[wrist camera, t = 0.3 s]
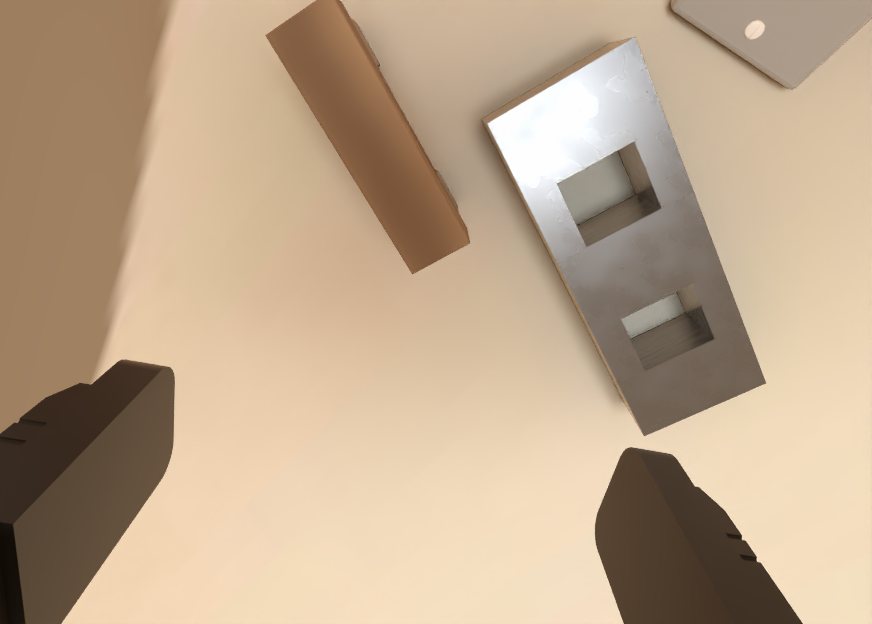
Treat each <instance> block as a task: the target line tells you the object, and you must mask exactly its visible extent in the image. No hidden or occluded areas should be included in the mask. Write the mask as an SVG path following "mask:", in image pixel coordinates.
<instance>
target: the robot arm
mask: <svg viewBox="0 0 872 624" xmlns="http://www.w3.org/2000/svg"><path fill="white" fill-rule="evenodd" d="M174 388H175V378H174V373H173V370H172V369H171V368H170V367H166V366H160V365H154V364H148V363H142V362H137V361H131V360H120V361H119V362H117V363H116V364H115V365H114V366H112V367H111V368H110V369H109V370H108V371H107V372H105V373H104V374H103V375H102V376H101V377H100V378H99V379H97V380H96V381H95V382H94V383H93V384H92V385H89V384H83V383H79V384H77V385H74V386H72V387H70V388H68V389H65V390H63V391H60V392H58V393H56V394H53V395H51V396H49V397H46V398H45V399H44V400H42V401H41V402H40V403H38V404H37V405H36V406H35V407H33V408H32V409H31V410H30V411H28V412H27V413H26V414H25V415H23V416H22V417H21V418H20V421H19V422H18V423H13V424H12V425H11V426H10V427H8V428H7V429H6V430H5V431H3V432H2V433H1V434H0V624H61V623H62V622H63V620H64V619H65V617H66V616H67V615H68V613H69V612H70V610H71V609H72V607H73V606H74V605H75V603H76V602H77V600H78V599H79V597H80V596H81V594H82V593H83V592H84V590H85V589H86V587H87V586H88V584H89V583H90V582H91V580H92V579H93V577H94V576H95V574H96V573H97V571H98V570H99V569H100V567H101V566H102V564H103V563H104V561H105V560H106V559H107V557H108V556H109V554H110V553H111V551H112V550H113V548H114V547H115V546H116V544H117V543H118V541H119V540H120V538H121V537H122V536H123V534H124V533H125V531H126V530H127V528H128V527H129V525H130V524H131V523H132V521H133V520H134V518H135V517H136V515H137V514H138V513H139V511H140V510H141V508H142V507H143V505H144V504H145V502H146V501H147V500H148V498H149V497H150V495H151V494H152V492H153V491H154V490H155V488H156V487H157V485H158V484H159V482H160V481H161V479H162V478H163V476H164V474H165V472H166V469H167V467H168V464H169V461H170V458H171V454H172V449H173V436H174ZM595 540H596V546H597V549H598V552H599V555H600V558H601V561H602V564H603V566H604V569H605V572H606V575H607V578H608V580H609V583H610V586H611V589H612V592H613V594H614V597H615V600H616V603H617V606H618V609H619V611H620V614H621V617H622V620H623V623H624V624H803V623H802V622H801V620H800V619H799V617H798V616H797V615H796V613H795V612H794V610H793V609H792V607H791V606H790V604H789V603H788V602H787V600H786V599H785V597H784V596H783V594H782V593H781V591H780V590H779V588H778V587H777V586H776V584H775V583H774V581H773V580H772V578H771V577H770V575H769V574H768V573H767V571H766V570H765V568H764V567H763V565H762V564H761V563H760V562H757V561H756V558H757V557H756V555H755V554H754V552H753V551H752V549H751V548H750V546H749V545H748V544H747V542H746V541H744V540H742V535H741V533H740V532H739V531H738V529H737V528H736V526H735V525H734V523H733V522H732V520H731V519H730V518H729V516H728V515H727V513H726V512H725V510H724V509H722V508H721V507H720V506H719V505H718V504H717V503H716V502H715V501H714V500H712V499H711V498H710V497H709V496H708V495H707V494H706V493H705V492H704V491H702V490H701V489H700V488H699V487H695V486H694V485H693V483H692V482H691V480H690V478H689V477H688V475H687V474H686V472H685V471H684V469H683V468H682V466H681V465H680V463H679V462H678V460H677V459H676V458H675V457H674V456H673V455H671V454H667V453H661V452H656V451H650V450H644V449H638V448H632V447H630V448H627V449H626V450H625V451H624V452H623V453H622V455H621V457H620V459H619V461H618V464H617V466H616V469H615V471H614V474H613V476H612V479H611V481H610V483H609V486H608V488H607V491H606V493H605V496H604V498H603V501H602V503H601V506H600V508H599V511H598V513H597V517H596V523H595Z"/></svg>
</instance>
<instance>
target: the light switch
mask: <svg viewBox="0 0 872 624" xmlns="http://www.w3.org/2000/svg"><path fill="white" fill-rule="evenodd" d="M671 8H672V10H673V11H674V12H675V13H677V14H678V15H680V16H681V17H682V18H684V19H685V20H687V21H688V22H690V23H691V24H693V25H694V26H696V27H697V28H699V29H700V30H702V31H703V32H705V33H706V34H708V35H709V36H710V37H712V38H713V39H715V40H716V41H718V42H719V43H721V44H722V45H724V46H725V47H727V48H728V49H730V50H731V51H733V52H734V53H736V54H737V55H738V56H740V57H741V58H743V59H744V60H746V61H747V62H749V63H750V64H752V65H753V66H755V67H756V68H758V69H759V70H761V71H762V72H763V73H765V74H766V75H768V76H769V77H771V78H772V79H774V80H775V81H777V82H778V83H780V84H781V85H783V86H784V87H786V88H787V89H791V90H793V89H794V88H796V87H797V86H798V85H799V84H800V83H801V82H803V81H804V80H805V79H806V78H807V77H808V76H809V75H810V74H811V73H812V72H814V71H815V70H816V69H817V68H818V67H819V66H820V65H821V64H822V63H823V62H824V61H826V60H827V59H828V58H829V57H830V56H831V55H832V54H833V53H834V52H835V51H836V50H838V49H839V48H840V47H841V46H842V45H843V44H844V43H845V42H846V41H847V40H848V39H850V38H851V37H852V36H853V35H854V34H855V33H856V32H857V31H858V30H859V29H861V28H862V27H863V26H864V25H865V24H866V23H867V22H868V21H869V20H870V19H871V18H872V0H671Z"/></svg>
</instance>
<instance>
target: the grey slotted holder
mask: <svg viewBox="0 0 872 624" xmlns="http://www.w3.org/2000/svg"><path fill="white" fill-rule="evenodd" d="M482 121H483V123H484V125H485V127H486V129H487V131H488V133H489V135H490V137H491V139H492V141H493V143H494V145H495V147H496V149H497V151H498V153H499V155H500V157H501V159H502V161H503V163H504V165H505V167H506V169H507V171H508V173H509V175H510V177H511V179H512V181H513V183H514V185H515V187H516V189H517V191H518V193H519V195H520V197H521V199H522V201H523V203H524V205H525V207H526V209H527V211H528V213H529V215H530V217H531V219H532V221H533V223H534V225H535V227H536V229H537V231H538V233H539V235H540V237H541V239H542V241H543V243H544V245H545V247H546V249H547V251H548V253H549V254H550V256H551V258H552V260H553V262H554V264H555V266H556V268H557V270H558V272H559V274H560V276H561V278H562V280H563V282H564V284H565V286H566V288H567V290H568V292H569V294H570V296H571V298H572V300H573V302H574V304H575V306H576V308H577V310H578V312H579V314H580V316H581V318H582V320H583V322H584V324H585V326H586V328H587V330H588V332H589V334H590V336H591V338H592V340H593V342H594V344H595V346H596V348H597V350H598V352H599V354H600V356H601V358H602V360H603V362H604V364H605V366H606V368H607V370H608V372H609V374H610V376H611V378H612V380H613V382H614V384H615V386H616V388H617V390H618V391H619V393H620V395H621V397H622V399H623V401H624V403H625V405H626V407H627V408H628V410H629V412H630V413H631V415H632V417H633V418H634V420H635V422H636V424H637V425H638V427H639V429H640V430H641V432H642V434H643V435H644V436H646V435H648V434H650V433H653V432H655V431H657V430H660V429H662V428H664V427H667V426H669V425H671V424H673V423H676V422H678V421H680V420H683V419H685V418H687V417H690V416H692V415H694V414H696V413H699V412H701V411H703V410H706V409H708V408H710V407H713V406H715V405H717V404H719V403H722V402H724V401H726V400H729V399H731V398H733V397H736V396H738V395H740V394H742V393H745V392H747V391H749V390H752V389H754V388H756V387H759V386H761V385H763V384H765V383H766V382H765V379H764V376H763V374H762V371H761V368H760V366H759V363H758V361H757V358H756V355H755V353H754V350H753V347H752V345H751V342H750V339H749V337H748V334H747V331H746V329H745V326H744V323H743V321H742V318H741V316H740V313H739V310H738V308H737V305H736V302H735V300H734V297H733V294H732V292H731V289H730V286H729V284H728V281H727V279H726V276H725V273H724V271H723V268H722V265H721V263H720V260H719V257H718V255H717V252H716V249H715V247H714V244H713V241H712V239H711V236H710V234H709V231H708V228H707V226H706V223H705V220H704V218H703V215H702V212H701V210H700V207H699V204H698V202H697V199H696V197H695V194H694V191H693V189H692V186H691V183H690V181H689V178H688V175H687V173H686V170H685V167H684V165H683V162H682V160H681V157H680V154H679V152H678V149H677V146H676V144H675V141H674V138H673V136H672V133H671V130H670V128H669V125H668V122H667V120H666V117H665V115H664V112H663V109H662V107H661V104H660V101H659V99H658V96H657V93H656V91H655V88H654V85H653V83H652V80H651V78H650V75H649V72H648V70H647V67H646V64H645V62H644V59H643V56H642V54H641V51H640V48H639V46H638V43H637V40H636V38H635V37H633V38H628V39H624V40H620V41H616V42H612V43H609V44H608V45H606V46H604V47H603V48H601V49H599V50H598V51H596V52H594V53H592V54H591V55H589V56H587V57H586V58H584V59H582V60H581V61H579V62H577V63H576V64H574V65H572V66H570V67H569V68H567V69H565V70H564V71H562V72H560V73H559V74H557V75H555V76H553V77H552V78H550V79H548V80H547V81H545V82H543V83H542V84H540V85H538V86H537V87H535V88H533V89H531V90H530V91H528V92H526V93H525V94H523V95H521V96H520V97H518V98H516V99H515V100H513V101H511V102H509V103H508V104H506V105H504V106H503V107H501V108H499V109H498V110H496V111H494V112H493V113H491V114H489V115H487V116H486V117H484V118H482ZM617 150H618V152H619V155H620V157H621V159H622V162H623V164H624V166H625V169H626V171H627V174H628V176H629V178H630V181H631V183H632V185H633V188H634V190H635V193H636V195H635V196H633V197H631V198H629V199H627V200H625V201H623V202H621V203H620V204H618V205H616V206H614V207H612V208H610V209H608V210H606V211H604V212H602V213H601V214H599V215H597V216H595V217H593V218H591V219H589V220H587V221H585V222H583V223H582V224H580V225H578V226H576V224H575V222H574V220H573V218H572V215H571V213H570V211H569V209H568V207H567V205H566V203H565V201H564V199H563V196H562V194H561V192H560V190H559V188H558V186H557V183H559V182H561V181H563V180H565V179H566V178H568V177H570V176H572V175H574V174H575V173H577V172H579V171H581V170H583V169H585V168H586V167H588V166H590V165H592V164H594V163H596V162H597V161H599V160H601V159H603V158H605V157H607V156H608V155H610V154H612V153H614V152H616V151H617ZM675 292H677V293H678V295H679V297H680V300H681V302H682V305H683V307H684V309H685V312H686V313H685V314H683V315H681V316H679V317H677V318H674V319H672V320H670V321H668V322H666V323H664V324H662V325H660V326H658V327H655V328H653V329H651V330H649V331H647V332H645V333H643V334H641V335H639V336H636V337H634V338H632V339H630V338H629V336H628V334H627V332H626V330H625V327H624V325H623V323H622V321H621V319H622V318H624V317H626V316H628V315H630V314H632V313H634V312H636V311H638V310H640V309H642V308H644V307H646V306H648V305H650V304H653V303H655V302H657V301H659V300H661V299H663V298H665V297H667V296H669V295H671V294H673V293H675Z"/></svg>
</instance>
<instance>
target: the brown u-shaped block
mask: <svg viewBox="0 0 872 624" xmlns="http://www.w3.org/2000/svg"><path fill="white" fill-rule="evenodd" d="M266 37H267V39H268V40H269V42H270V44H271V45H272V47H273V48H274V50H275V52H276V53H277V55H278V57H279V58H280V60H281V61H282V63H283V65H284V66H285V68H286V70H287V71H288V73H289V74H290V76H291V78H292V79H293V81H294V83H295V84H296V86H297V87H298V89H299V91H300V92H301V94H302V96H303V97H304V99H305V100H306V102H307V104H308V105H309V107H310V109H311V110H312V112H313V113H314V115H315V117H316V118H317V120H318V122H319V123H320V125H321V126H322V128H323V130H324V131H325V133H326V135H327V136H328V138H329V139H330V141H331V143H332V144H333V146H334V148H335V149H336V151H337V152H338V154H339V156H340V157H341V159H342V161H343V162H344V164H345V166H346V167H347V169H348V170H349V172H350V174H351V175H352V177H353V179H354V180H355V182H356V183H357V185H358V187H359V188H360V190H361V192H362V193H363V195H364V196H365V198H366V200H367V201H368V203H369V205H370V206H371V208H372V209H373V211H374V213H375V214H376V216H377V218H378V219H379V221H380V222H381V224H382V226H383V227H384V229H385V231H386V232H387V234H388V235H389V237H390V239H391V240H392V242H393V244H394V245H395V247H396V248H397V250H398V252H399V253H400V255H401V257H402V258H403V260H404V261H405V263H406V265H407V266H408V268H409V270H410V271H411V273H412V274H414V273H416V272H418V271H420V270H421V269H423V268H425V267H427V266H429V265H431V264H432V263H434V262H436V261H438V260H440V259H442V258H444V257H445V256H447V255H449V254H451V253H453V252H455V251H456V250H458V249H460V248H462V247H464V246H466V245H467V244H469V243H470V240H469V236H468V231H467V227H466V225H465V224H464V222H463V220H462V218H461V216H460V215H459V212H458V206H457V204H456V202H455V200H454V198H453V197H452V195H451V193H450V191H449V189H448V188H447V186H446V184H445V182H444V180H443V178H442V177H441V175H440V173H439V171H437V172H436V171H435V169H434V168H433V166H432V164H431V162H430V160H429V159H428V157H427V155H426V153H425V151H424V150H423V148H422V146H421V144H420V142H419V141H418V139H417V137H416V135H415V133H414V132H413V130H412V128H411V126H410V124H409V123H408V121H407V119H406V117H405V115H404V114H403V112H402V110H401V108H400V106H399V105H398V103H397V101H396V99H395V97H394V96H393V94H392V92H391V90H390V88H389V87H388V85H387V83H386V81H385V79H384V77H383V76H382V74H381V72H380V70H379V68H378V66H379V65H380V64H379V63H378V61H377V59H376V57H375V55H374V54H373V52H372V50H371V48H370V46H369V44H368V43H367V41H366V39H365V37H364V35H363V34H362V32H361V30H360V28H359V26H358V25H357V23H356V22H355V21H354V20H352V19H351V18H350V16H349V14H348V13H347V11H346V9H345V7H344V5H343V4H342V2H341V1H340V0H316V1H315V2H314V3H312V4H311V5H309V6H308V7H306V8H305V9H303V10H302V11H300V12H299V13H297V14H296V15H294V16H293V17H292V18H290V19H289V20H287V21H286V22H284V23H283V24H281V25H280V26H278V27H277V28H275V29H274V30H273V31H271V32H270V33H268V34H267V35H266Z"/></svg>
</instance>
